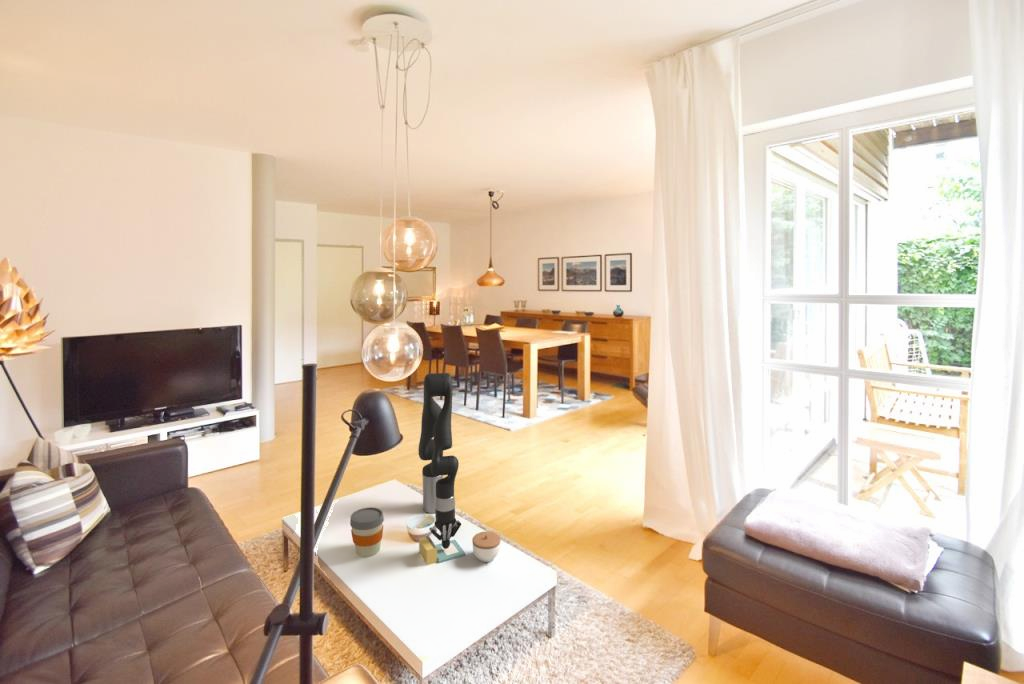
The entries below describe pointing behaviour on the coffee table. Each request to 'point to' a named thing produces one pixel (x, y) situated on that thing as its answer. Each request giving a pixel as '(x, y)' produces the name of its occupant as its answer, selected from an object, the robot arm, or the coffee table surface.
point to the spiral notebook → (449, 552)
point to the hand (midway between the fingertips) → (445, 547)
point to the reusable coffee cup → (367, 531)
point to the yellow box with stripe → (428, 550)
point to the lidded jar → (486, 546)
